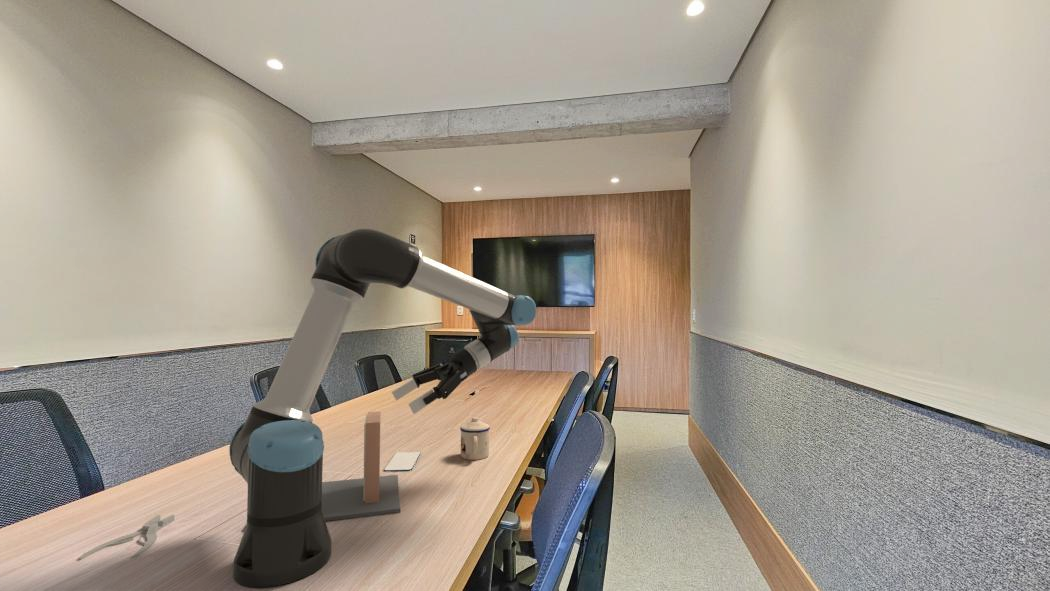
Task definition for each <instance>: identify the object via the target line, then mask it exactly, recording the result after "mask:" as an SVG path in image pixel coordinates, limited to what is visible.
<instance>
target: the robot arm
mask: <svg viewBox="0 0 1050 591" xmlns="http://www.w3.org/2000/svg"><path fill="white" fill-rule="evenodd" d="M310 284H311V285H312V288H313V292H312V295H311V297H310V299H309V301H308V302H307V303H308V304H307V305H306V308H305V310H304V312H303V314H302V316H301V319H300V321H299V323H298V326H297V328H296V330H295V332H294V335H293V336H292V339H291V341H290V344H289V345H288V348H287V350H286V352H285V354H284V357H283V359H282V361H281V363H280V365H279V367H278V369H277V372H276V374H275V376H274V378H273V381H272V382H271V385H270V388H269V390H268V392H267V394H266V396H265V397H264V398H263V399H262V400H259V401H258V402H255V403H253V405H252V407H251V409H250V411H249V413H248V416H247V418H246V420H245V421H243V423H242V424H240V425H239V427H237V428H236V430H235V431H234V433H233V435H232V437H231V438H230V439H231V440H230V442H229V448H228V452H229V457H230V462H231V465H232V466H233V468H234V470H235V471H236V472H237V473H238V474H239V475H240V476H241V477H242V478H243V480H244V481H245V482H246V483H247V499H246V500H247V508H246V511H247V512H246V525H245V527H246V528H244V531H243V534H242V537H241V539H240V542H239V545H238V548H237V550H236V553H235V556H234V559H233V572H232V576H233V579H234V580H235V581H236V583H238V584H240V585H242V586H245V587H249V588H250V587H251V588H268V587H276V586H282V585H285V584H290V583H292V582H295V581H298V580H299V581H300V580H301V579H304V578H306V577H307V576H310V575H312V574H313V573H316V572H317V571H318V570H319V569H321V568H322V567H323V566H325V565H326V564H327V563H328V561H329V560H330V558H331V556H332V538H331V535H330V532H329V529H328V525H327V523H326V522H327V521H325V519H324V517H323V514H322V482H323V470H324V469H323V465H324V464H323V461H324V450H325V445H324V440H323V438H324V437H323V431H322V430H321V428H320V427H319V426H318V424H315V423H313V421H314V419H313V417H312V415H311V412H310V409H311V406H312V404H313V402H314V399H315V396H316V394H317V392H318V390H319V387H320V384H321V383H322V380H323V378H324V375H325V374H326V371H327V368H328V366H329V363H330V361H331V359H332V357H333V354H334V352H335V349H336V347H337V344H338V342H339V340H340V337H341V334H342V333H343V330H344V328H345V325H346V323H347V321H348V318H349V315H350V314H351V312H352V309H353V307H354V305H356V304H357V303H361V302H362V301H364V298H365V296H366V294H367V291H368V289H369V287H370V285H371V284H384V285H389V286H393V287H396V288H398V289H402V290H403V289H405V288H407V287H408V288H409V287H410V288H412V289H414V290H417V291H420V292H422V293H426V294H428V295H431V296H434V297H435V298H438V299H441V300H444V301H447V302H448V303H452V304H454V305H457V306H460V307H462V308H465V309H468V311H469V313H470V315H471V317H472V319H473V321H474V323H475V325H476V328H477V330H478V333H479V335H480V336H479V337H478V338H477V339H474V340H473V341H471V342H469V343H468V344H466V345H465V346H464V347H463V348H460V349H459V350H457V351H455V352H454V353H452V354H451V361H450V362H447V363H446V360H442V361H440V362H439V363H437V364H434V365H432V366H430V367H428V368H425V369H423V370H420V371H417V372H415V373H413V374H412V379H411V378H410V379H409V380H408V381H406V382H404V383H403V384H401V385H399V386H398V387H397V388H395V389H393V390H391V393H392V395H393V398H394V399H395V401H399V400H401V398H403V397H404V396H407V395H408V394H409V393H412V392H413V391H414V390H416V389H419V388H420V386H421V385H424V384H427V383H431V382H434V381H436V380H438V381H439V382H438V383H437V385H436V386H434V387H432V389H430V390H428V391H426V392H425V393H423V394H421V395H420V396H419V397H417V398H415V399H414V400H413V401H411V402H408V406H409V408H410V410H411V412H412V414H414V415H415V414H417V413H418V412H419V411H420V410H421V411H422V409H424V408H426V407H427V406H428V405H430V404H432V403H433V402H435V401H436V400H440V399H441V398H442V400H446V399H447V398H448V397H450V395H451V394H452V393H453V392H454V391H455V390H456V388H458V386H459V385H460V384H462V382H463V381H465V380H466V379H468V377H470V376H471V375H473V374H474V373H476V372H477V371H478V370H480V369H481V368H486V366H487V365H488V364H489V363H491V362H492V361H494V360H495V359H497V358H499V357H500V356H502V355H504V354H505V353H507V352H509V351H510V350H511V349H513V348H514V347H516V345H517V344H519V342H520V335H519V332H518V329H516V328H515V326H518V327H521V326H527V325H530V324H532V322H534V320H535V318H536V315H537V305H536V302H535V301H534V299H533V298H532V297H531V296H528V295H523V294H522V295H515V294H513V293H510V292H508V291H505V290H503V289H500V288H498V287H496V286H494V285H491V284H489V283H487V282H485V281H482V280H481V279H477V278H475V277H474V276H472V275H468V274H466V273H464V272H462V271H460V270H458V269H455V268H453V267H451V266H449V265H446V264H444V263H442V262H439V261H437V260H435V259H433V258H431V257H428V256H426V255H424V254H422V251H421V249H420V247H417V246H415V245H412V244H410V243H408V242H406V241H404V240H401V239H400V238H397V237H395V236H392V235H390V234H387V233H385V232H383V231H379V230H376V229H370V228H357V229H354V230H351V231H350V232H346V233H344V234H340V235H336V236H333V237H331V238H329V239H328V240H327V241H325V242H324V243H323V244H322V245H321V246H320V248H319V249H318V251H317V253H316V256H315V269H314V271H313V274H312V276H311V279H310Z"/></svg>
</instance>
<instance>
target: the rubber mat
mask: <svg viewBox="0 0 1050 591" xmlns="http://www.w3.org/2000/svg"><path fill="white" fill-rule="evenodd" d="M363 487H364V477H362V478H361V477H359V478H352V479H351V478H349V479H341V480H332V481H322V514H323V517H324V519H325V522H330V521H329V520H332V521H337V520H338V521H340V520H349V519H355V518H362V517H363V518H364V517H371V516H379V515H387V514H388V515H389V514H394V513H395V514H396V513H401V501H400V489H399V488H400V487H399V475H398V474H393V475H392V474H390V475H383V476H382V475H380V488H379V502H374V503H365V501H363ZM244 527H245V528H246V526H244ZM245 528H244V529H245Z"/></svg>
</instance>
